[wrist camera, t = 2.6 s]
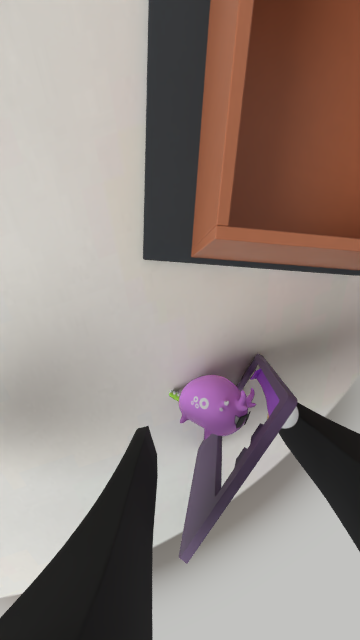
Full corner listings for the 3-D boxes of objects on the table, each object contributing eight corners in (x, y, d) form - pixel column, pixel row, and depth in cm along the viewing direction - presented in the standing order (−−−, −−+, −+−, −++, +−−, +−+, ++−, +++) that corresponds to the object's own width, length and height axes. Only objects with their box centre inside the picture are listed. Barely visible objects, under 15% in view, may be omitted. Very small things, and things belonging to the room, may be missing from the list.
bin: (213, -60, 9) (317, -785, 3) (423, -12, 9) (835, -473, 4) (189, 258, 12) (214, 239, 6) (350, 270, 12) (512, 265, 7)
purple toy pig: (200, 578, 8) (319, 413, 7) (104, 501, 9) (191, 340, 7) (210, 457, 15) (272, 360, 13) (154, 419, 16) (206, 324, 14)
